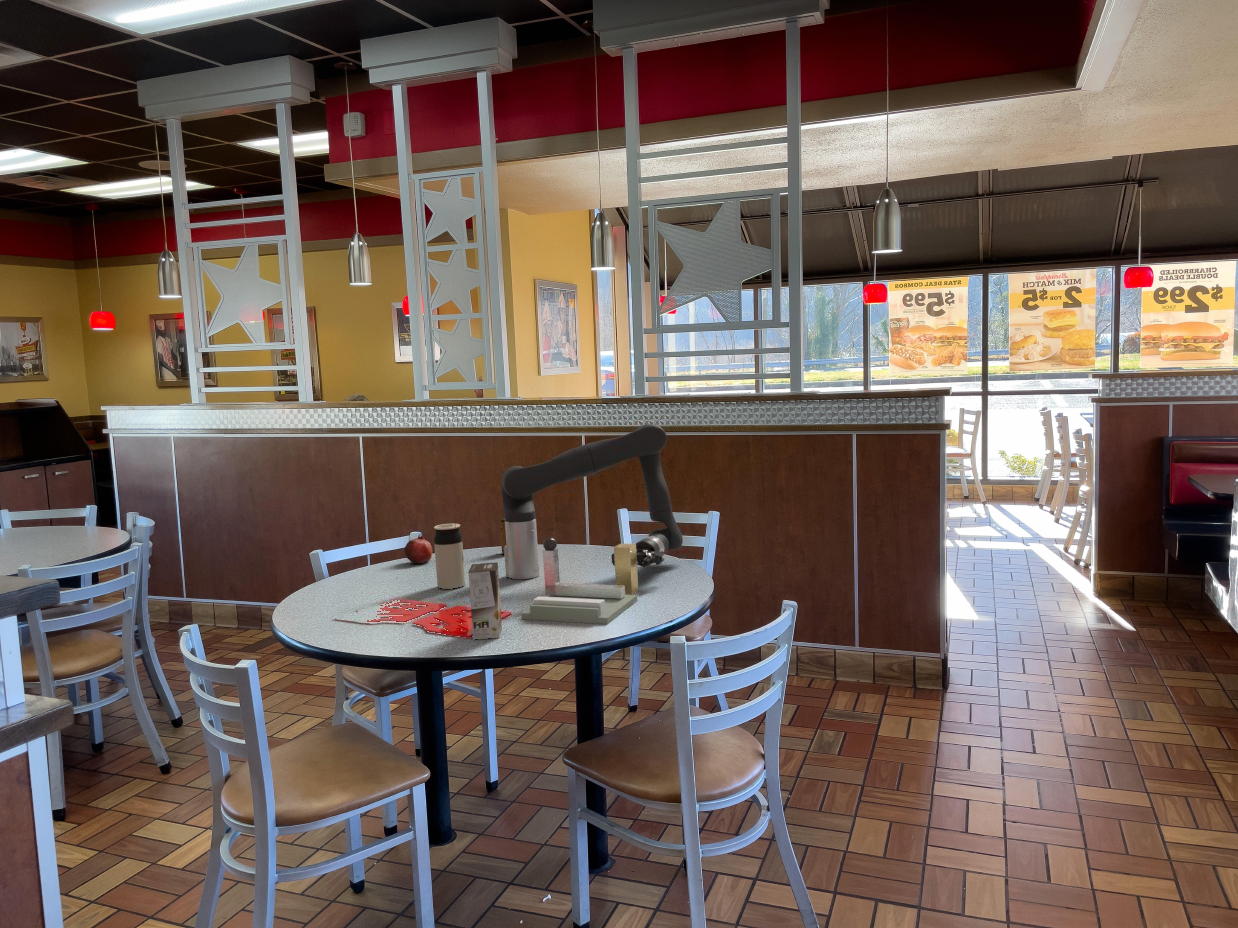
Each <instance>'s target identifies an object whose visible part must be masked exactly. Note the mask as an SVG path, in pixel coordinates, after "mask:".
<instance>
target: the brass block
mask: <svg viewBox="0 0 1238 928" xmlns="http://www.w3.org/2000/svg"><path fill="white" fill-rule="evenodd" d="M613 553H614V559H615V566H614V574H615V575H614V577H615V585H624V586H625V595H635V594H636V593H637V592H639V576H638V565H637V555H636V543H618V544H617V545H615V546H614V547H613Z"/></svg>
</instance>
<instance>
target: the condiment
mask: <svg viewBox="0 0 1238 928" xmlns="http://www.w3.org/2000/svg"><path fill="white" fill-rule="evenodd" d="M500 525H501V526H500V545H501V552H496V555H497V554H498V555H501V554H504V546H506V545H507V543H506V529H505V517H504V518H502V519H500Z"/></svg>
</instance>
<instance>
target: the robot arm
mask: <svg viewBox="0 0 1238 928" xmlns="http://www.w3.org/2000/svg"><path fill="white" fill-rule="evenodd" d="M667 441H668V436H667V432H666V431H665V430H664V428H662V427H661V426H659V424H658V425H657V424H653V423H649V424H643V425H640V426H638V427H637V428H636V429H635V430H634V431H631V432H628V433H626V434H625V435H621V436H619V437H614V438H607V439H602V440H596V441H592V442H589V443H585V444H582V445H580V446H576V447H573V448H570V449H569V450H566V451H563V452H562V453H560V454H558V455H557V456H555V457H553V458H551V459H549V460H547V461H544V462H542V463H537V464H533V465H530V466H529V465H528V466H521V465H512V466H511V467H509V468H507V469H506V470H505V471H504V473H503V474H502V477H501V494H502V495H501V496H502V507H503V508H502V509H503V514H504V518H505V529H506V543H507V545H506V546H504V555H503V556H504V567H505V578H506V577H509V579H511V578H512V580H530V579H533V578H537V577H538V576H540V567H539V566H540V563H539V548H538V533H537V532H538V531H537V518H536V517H537V515H536V508H535V503H534V494H535V493H537V492H540V491H543V490H544V489H547V488H550V487H552V486H554V485H558V484H563V483H567V482H570V481H574V480H578V479H581V478H585V477H588V476H591V475H594V474H597V473H599V472H602V471H604V470H608V469H611V467H614V466H616V465H618V464H620V463H623V462H624V461H628V460H631V459H635V458H638V460H639V465H640V468H641V472H642V476H643V481H644V487H645V493H646V500H647V507H648V511H649V517H650V520H651V521H652V522H655V523H662V524H664V526H665V527H664V528H658V529H657V528H656V529H653V530H651V531H649V533H648V535H647V536H646V537H644V538H642V539H641V540H639V541H637V542H636V543H635V544H636V555H637V566H640V567H643V568H648V567H650V566H653V565H654V564H655V565H656V566H658V565H661V564H662V563H664V561H665V554H667V552H668V551H669V552H670V551H678V550H680V549H681V547H682V546H683V542H684V541H683V534H682V532H681V529H680V527H679V526H678V524H677V521H676V519H675V516H674V513H673V509H672V508H673V507H672V503H671V497H670V492H669V487H668V485H667V482H666V479H665V476H664V473H663V469H662V465H661V457H660V456H661V455H660V452H661V451H662V450H663V449H664V448H665V446H666V444H667ZM611 564H612V565H613V567H615V559H614V552H613V553H612V554H611Z"/></svg>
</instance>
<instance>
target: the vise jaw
mask: <svg viewBox="0 0 1238 928" xmlns="http://www.w3.org/2000/svg"><path fill="white" fill-rule="evenodd" d="M557 543H558V542H557V540H556V539H555V538H553V537H546V538H545V540H543V545H542V546H543V550H542V558H543V559H542V560H543V561H542V563H543V575H544V589H545V590H544V591H545V592H544V594H545V596H550V595H554V596H575V597H596V598H617V599H622V598H623V597H624V596H625V586H624V585H616V584H597V583H595V584H594V583H578V582H577V583H574V582H571V583H569V582H561V580H560V579H561V577H560V563H559V561H560V560H559V548H557V545H558V544H557Z"/></svg>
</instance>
